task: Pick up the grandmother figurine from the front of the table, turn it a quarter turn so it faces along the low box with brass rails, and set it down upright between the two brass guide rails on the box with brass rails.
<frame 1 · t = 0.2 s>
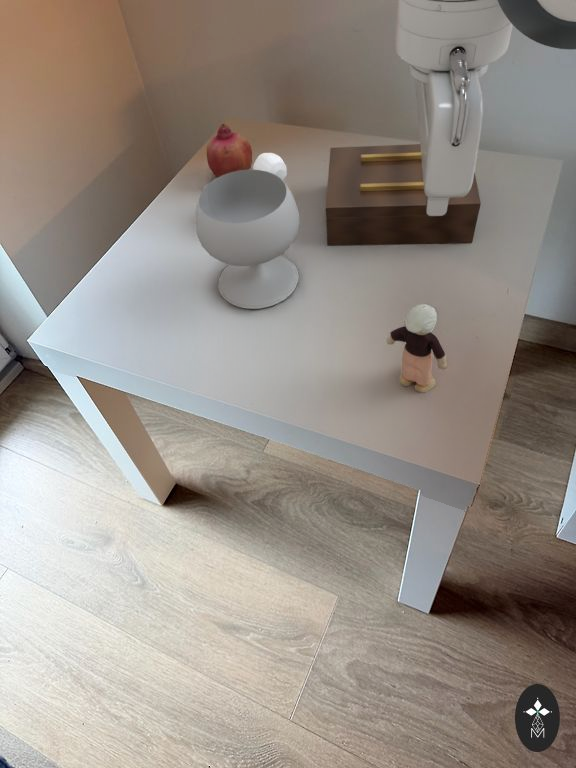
hand: (432, 181, 53), 24 cm above the table, tool pointing down, fingers open, 8 cm apart
grandmother figurine: (412, 380, 68), on the table
chalice: (258, 282, 81), on the table
box with brass rails: (397, 212, 88), on the table
fruit: (233, 179, 98), on the table
white low-poly sculpture: (253, 216, 91), on the table
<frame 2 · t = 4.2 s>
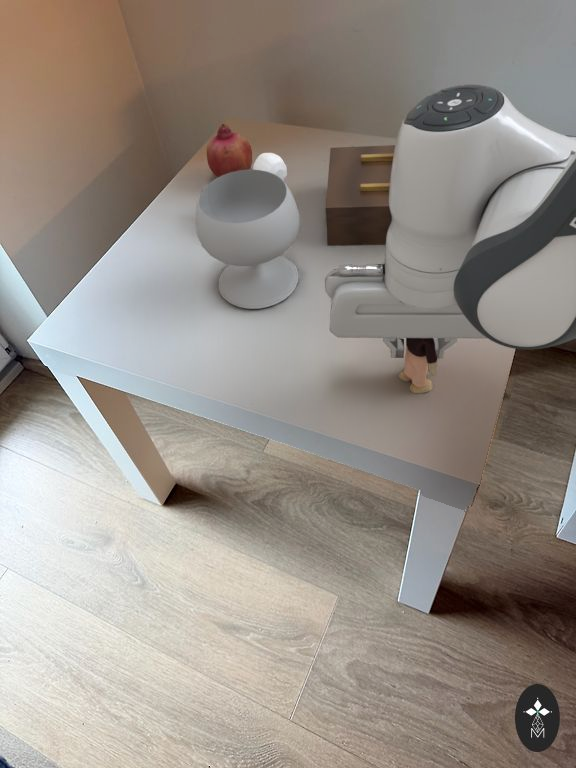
hand: (416, 354, 64), 5 cm above the table, tool pointing down, fingers closed on grandmother figurine, 3 cm apart
grandmother figurine: (413, 378, 68), on the table, touching gripper
everything else where it was.
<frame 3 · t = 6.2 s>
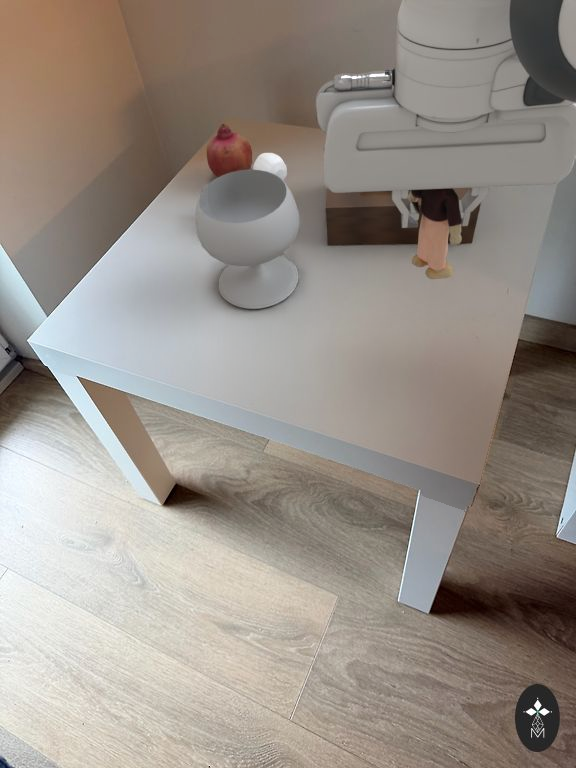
hand: (434, 223, 50), 23 cm above the table, tool pointing down, fingers closed on grandmother figurine, 3 cm apart
grandmother figurine: (428, 264, 55), point 18 cm above the table, touching gripper
everything else where it was.
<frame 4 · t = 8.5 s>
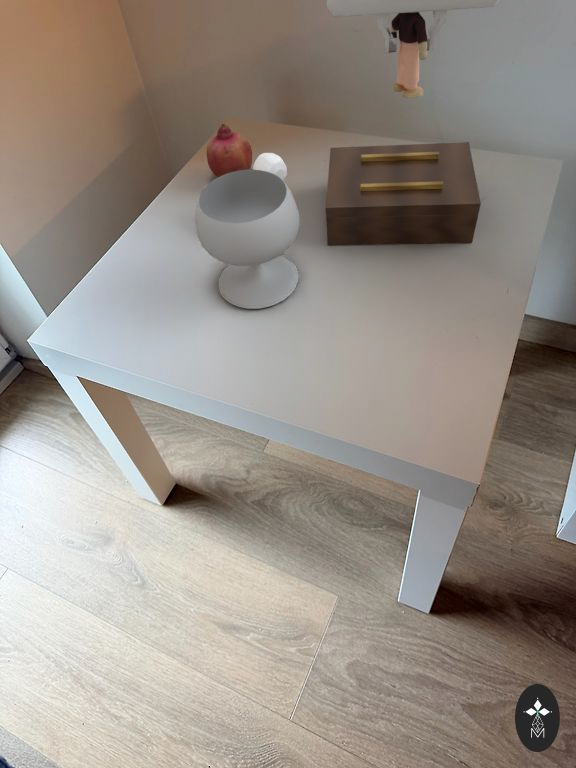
hand: (408, 49, 68), 25 cm above the table, tool pointing down, fingers closed on grandmother figurine, 3 cm apart
grandmother figurine: (405, 90, 72), point 19 cm above the table, touching gripper
everything else where it was.
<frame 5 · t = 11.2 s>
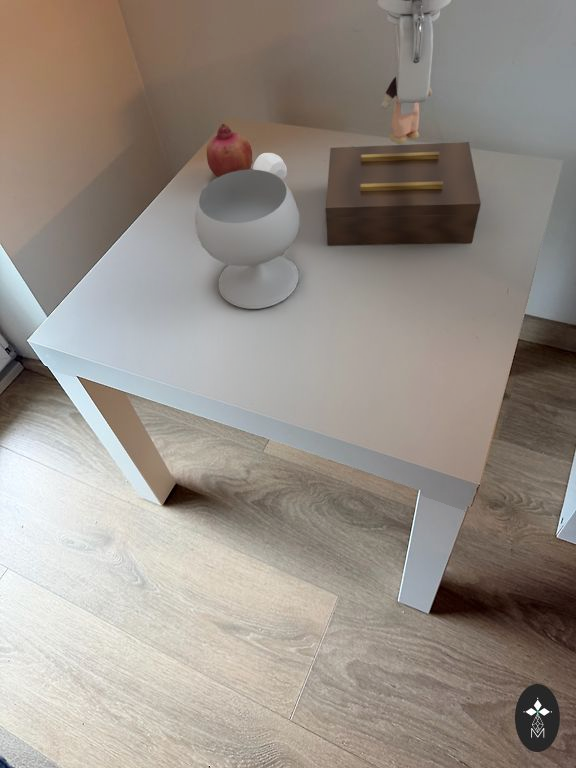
hand: (406, 103, 74), 18 cm above the table, tool pointing down, fingers closed on grandmother figurine, 3 cm apart
grandmother figurine: (401, 139, 78), point 13 cm above the table, touching gripper
everything else where it was.
when the fingers open (12 cm above the table, at t = 13.1 s): grandmother figurine stays where it is, resting on box with brass rails.
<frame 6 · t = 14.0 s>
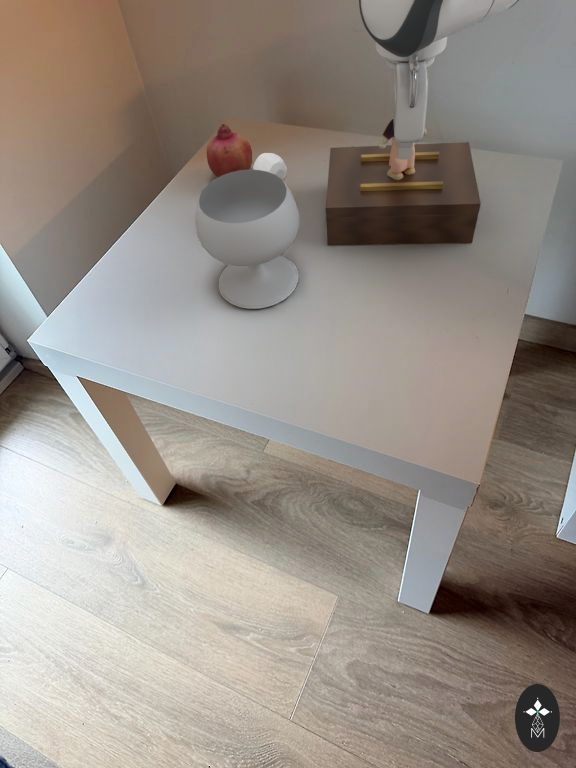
hand: (403, 138, 78), 13 cm above the table, tool pointing down, fingers open, 8 cm apart
grandmother figurine: (398, 174, 82), point 7 cm above the table, touching box with brass rails
everything else where it was.
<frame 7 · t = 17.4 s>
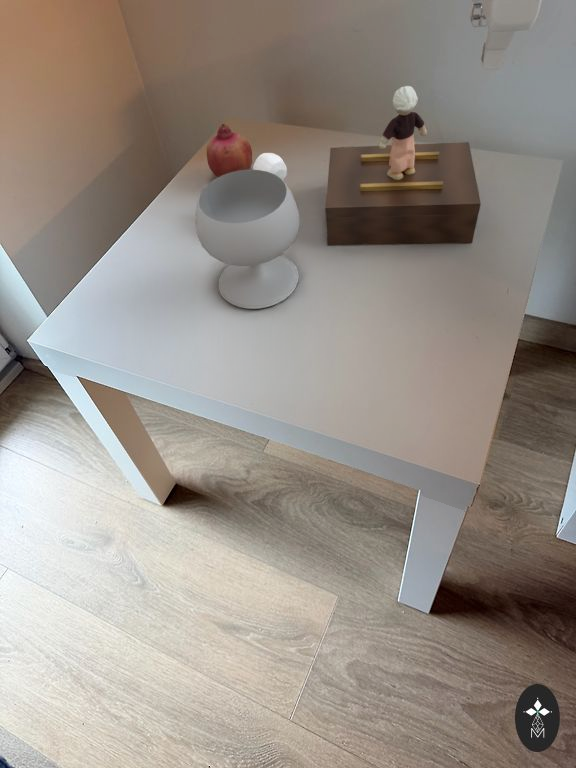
hand: (484, 44, 53), 31 cm above the table, tool pointing down, fingers open, 8 cm apart
nothing on the table moved.
at the end: grandmother figurine inside the target area on the box with brass rails (0.2 cm from its centre), point 6.8 cm above the box with brass rails's base; grandmother figurine tilted 0°; the gripper is holding nothing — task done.
